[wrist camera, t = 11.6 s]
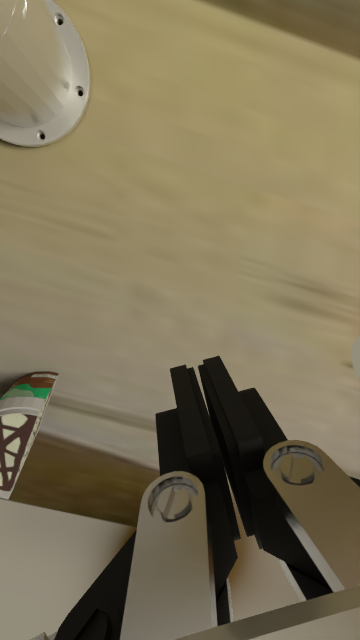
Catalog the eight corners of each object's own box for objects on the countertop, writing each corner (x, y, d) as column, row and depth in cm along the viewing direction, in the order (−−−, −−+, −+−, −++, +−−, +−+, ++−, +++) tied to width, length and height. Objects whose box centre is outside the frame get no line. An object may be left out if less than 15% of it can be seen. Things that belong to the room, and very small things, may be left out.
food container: (12, 348, 39) (-28, 392, 30) (62, 363, 41) (39, 411, 32) (-13, 427, 43) (-55, 490, 33) (35, 439, 44) (7, 503, 35)
